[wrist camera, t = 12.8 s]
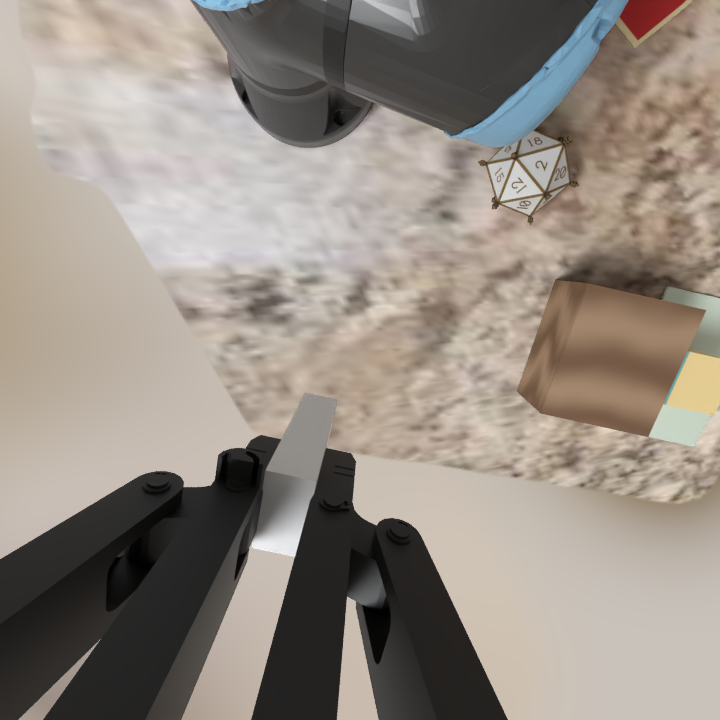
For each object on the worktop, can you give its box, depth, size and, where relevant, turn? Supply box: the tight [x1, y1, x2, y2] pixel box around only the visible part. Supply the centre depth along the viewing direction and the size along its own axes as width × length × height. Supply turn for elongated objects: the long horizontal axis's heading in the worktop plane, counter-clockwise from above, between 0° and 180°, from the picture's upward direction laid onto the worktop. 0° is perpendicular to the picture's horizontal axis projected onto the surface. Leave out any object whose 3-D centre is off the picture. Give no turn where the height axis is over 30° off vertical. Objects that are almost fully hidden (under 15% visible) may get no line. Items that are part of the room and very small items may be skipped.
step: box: [517, 280, 706, 437], centre depth 42 cm, size 14×12×7 cm
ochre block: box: [664, 349, 720, 415], centre depth 43 cm, size 6×6×6 cm
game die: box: [478, 130, 579, 225], centre depth 37 cm, size 9×8×10 cm
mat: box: [648, 286, 720, 447], centre depth 46 cm, size 18×11×1 cm, turn 168°
